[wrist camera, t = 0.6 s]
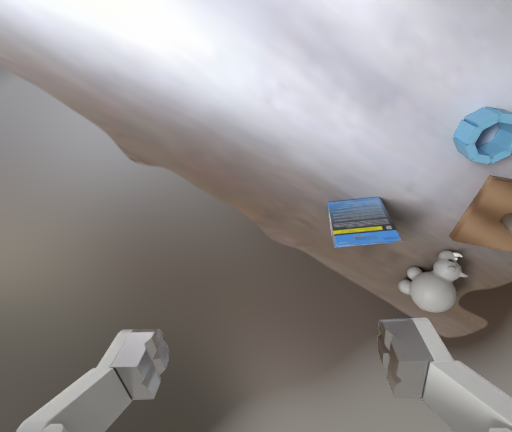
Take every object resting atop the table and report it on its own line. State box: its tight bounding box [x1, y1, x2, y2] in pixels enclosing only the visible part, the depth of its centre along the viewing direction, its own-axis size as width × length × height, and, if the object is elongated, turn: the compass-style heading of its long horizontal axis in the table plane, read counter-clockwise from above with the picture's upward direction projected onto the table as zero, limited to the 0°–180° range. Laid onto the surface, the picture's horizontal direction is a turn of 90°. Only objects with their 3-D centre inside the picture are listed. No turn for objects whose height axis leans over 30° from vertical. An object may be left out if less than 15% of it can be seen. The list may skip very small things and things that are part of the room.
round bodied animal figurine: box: [398, 250, 468, 312], centre depth 51 cm, size 7×12×8 cm, turn 150°
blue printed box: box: [327, 197, 403, 247], centre depth 44 cm, size 9×4×12 cm, turn 101°
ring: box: [453, 107, 512, 164], centre depth 39 cm, size 7×7×4 cm
